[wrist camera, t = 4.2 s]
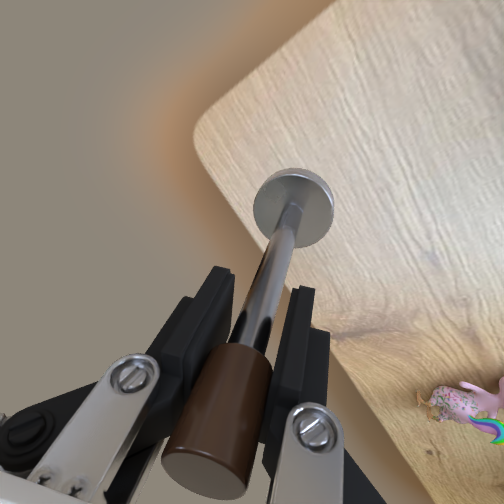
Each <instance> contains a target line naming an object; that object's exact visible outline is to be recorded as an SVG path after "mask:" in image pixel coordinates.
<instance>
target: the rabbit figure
mask: <svg viewBox="0 0 504 504" xmlns="http://www.w3.org/2000/svg"><path fill="white" fill-rule="evenodd" d="M459 385H460V386H461V387H463V388H467V389H471V390H473V391H472V392H464V391H461V390H458V389H454V388H451V387H448V386H439V387H436V388H435V389H434V390H433V393H432V396H431V398H430V400H429V401H428V402H426V401H423V400H422V398H421V394H420V391H419V390H418V391H416V392H417V402H418V403H419V405H418V406H417V407H419V406H420V403H423V404H425V405H427V406H428V407H429V408H428V407H427V406H426V407H427V417H428V418H429V420H428V422H430V419H431V418H432V419H434V420H436V421H438V422H439V423H441V422H443V421H444V420H454V421H455V422H458V423H461V424H465V423H470V424H472V425H473V426H474V427H476V428H477V429H479V430H481V431H483V432H486V433H490V434H494V435H496V436H497V437H496V438H495V439H494V440H493V441H492V442H490V443H493V444H496V445H504V423H503V422H501V421H499V420H497V419H495V418H496V415H497V412H498V409H499V408H503V409H504V376H503V377H502V378H501V379H500V380H499V389H500V392H499V393H498V394H490V393H488V392H487V391H485V390H483V389H481V388H479V387H477V386H475V385H472V384H470V383H467V382H464V381H460V382H459ZM418 392H419V394H418ZM433 405H436V406H440V411H439V415H438V416H437V417H435V416H433V415H432V413H431V409H430V407H431V406H433ZM480 411H487V412H488V416H487V418H483V419H475V416H476V415H477V413H479V412H480Z"/></svg>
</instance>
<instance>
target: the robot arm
mask: <svg viewBox="0 0 504 504" xmlns="http://www.w3.org/2000/svg"><path fill="white" fill-rule="evenodd" d="M234 282H235V275H234V274H231V273H230V269H227V268H223V267H219V266H214V267H213V269H212V270H211V272H210V273H209V275H208V276H207V278H206V280H205V282H204V283H203V285H202V286H201V288H200V289H199V291H198V293H197V294H196V296H195V297H194V298H190V297H187V296H185V297H183V298H182V299H181V301H180V302H179V304H178V305H177V307H176V308H175V310H174V311H173V313H172V314H171V316H170V317H169V319H168V320H167V321H166V323H165V324H164V326H163V328H162V329H161V330H160V332H159V333H158V335H157V337H156V338H155V339H154V341H153V343H152V344H151V345H150V347H149V348H148V350H147V351H146V353H145V354H141V353H136V354H129V355H126V356H123V357H121V358H120V359H118V360H116V361H115V362H114V363H113V364H112V365H111V366H110V367H109V368H108V369H107V371H106V372H105V373H104V375H103V376H102V377H101V379H100V380H99V381H97V382H95V383H92V384H89V385H86V386H84V387H81V388H79V389H76V390H73V391H70V392H67V393H65V394H62V395H59V396H57V397H54V398H51V399H49V400H46V401H43V402H41V403H38V404H35V405H32V406H30V407H27V408H25V409H23V410H21V411H19V412H17V413H16V414H14V415H13V416H10V417H6V416H5V414H4V413H3V414H0V504H136V502H137V500H138V497H139V495H140V492H141V491H142V489H143V486H144V484H145V482H146V480H147V478H148V475H149V473H150V471H151V469H152V467H153V464H154V462H155V460H156V458H157V456H158V454H159V451H160V449H161V446H162V445H163V442H164V439H165V438H167V437H169V436H170V435H171V433H172V431H173V429H174V427H175V425H176V422H177V420H178V418H179V416H180V414H181V412H182V409H183V407H184V405H185V403H186V401H187V399H188V396H189V394H190V392H191V390H192V388H193V386H194V383H195V381H196V379H197V377H198V375H199V373H200V370H201V368H202V366H203V364H204V362H205V360H206V357H207V355H208V353H209V352H210V350H211V349H213V348H214V347H215V346H217V345H219V344H222V343H226V341H227V339H228V336H229V333H230V327H231V317H232V304H233V293H234ZM314 295H315V289H314V288H310V287H305V286H301V285H300V286H299V289H295V288H293V289H292V293H291V297H290V302H289V306H288V310H287V314H286V319H285V323H284V327H283V332H282V336H281V341H280V345H279V349H278V354H277V358H276V362H275V366H274V371H273V375H272V379H271V384H270V389H269V393H268V398H267V403H266V408H265V412H264V420H263V425H262V429H261V433H260V438H259V442H260V443H263V444H265V448H264V452H263V459H262V464H263V466H264V467H265V469H266V471H267V473H268V475H269V476H270V481H269V487H268V492H267V497H266V502H265V504H386V502H385V501H384V500H383V498H382V497H381V495H380V494H379V493H378V491H377V490H376V489H375V488H374V486H373V485H372V484H371V483H370V481H369V480H368V478H367V477H366V476H365V474H364V473H363V472H362V470H361V469H360V468H359V466H358V465H357V464H356V463H355V461H354V460H353V459H352V457H351V456H350V455H349V453H348V452H347V451H346V450H345V448H344V433H343V428H342V426H341V424H340V421H339V420H338V418H337V417H336V416H335V414H334V413H333V412H332V411H330V410H329V409H328V408H327V407H326V401H327V384H328V367H329V350H330V332H327V331H323V330H319V329H315V328H311V327H310V325H311V318H312V310H313V303H314Z"/></svg>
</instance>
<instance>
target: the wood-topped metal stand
mask: <svg viewBox="0 0 504 504" xmlns="http://www.w3.org/2000/svg"><path fill="white" fill-rule="evenodd" d="M253 213H254V218H255V221H256V224H257V226H258V228H259V229H260V231H261V232H262V233H263V234H264V236H265V237H267V238H268V239H269V240H270V241H269V243H268V246H267V248H266V251H265V253H264V255H263V258H262V260H261V263H260V265H259V268H258V270H257V273H256V275H255V278H254V280H253V282H252V285H251V287H250V290H249V292H248V294H247V297H246V299H245V302H244V304H243V307H242V309H241V311H240V314H239V316H238V319H237V321H236V324H235V326H234V329H233V331H232V333H231V336H230V338H229V341H228V343H222V344H219V345H217V346H215V347H214V348H213V349H211V350H210V352H209V353H208V355H207V357H206V360H205V362H204V364H203V366H202V368H201V370H200V373H199V375H198V377H197V379H196V381H195V383H194V386H193V388H192V390H191V392H190V394H189V396H188V399H187V401H186V403H185V405H184V407H183V409H182V412H181V414H180V416H179V418H178V420H177V422H176V425H175V427H174V429H173V431H172V433H171V435H170V438H169V440H168V442H167V444H166V446H165V448H164V451H163V453H162V456H161V464H162V466H163V468H164V470H165V471H166V473H167V474H168V475H169V476H170V477H171V478H172V479H173V480H174V481H176V482H177V483H178V484H180V485H181V486H183V487H185V488H187V489H188V490H190V491H192V492H194V493H197V494H199V495H202V496H205V497H209V498H213V499H218V500H235V499H238V498H241V497H242V496H244V494H245V493H246V491H247V489H248V486H249V482H250V477H251V473H252V469H253V464H254V460H255V455H256V451H257V446H258V442H259V438H260V433H261V429H262V425H263V420H264V412H265V408H266V403H267V398H268V393H269V389H270V384H271V379H272V375H273V370H272V366H271V364H270V363H269V361H268V360H267V358H266V357H265V352H266V348H267V344H268V341H269V337H270V333H271V329H272V326H273V322H274V319H275V315H276V311H277V308H278V304H279V300H280V297H281V293H282V289H283V286H284V282H285V278H286V275H287V271H288V267H289V264H290V260H291V256H292V252H293V249H294V248H302V247H307V246H310V245H312V244H314V243H316V242H318V241H319V240H320V239H322V238H323V237H324V236H325V235H326V233H327V232H328V230H329V229H330V227H331V224H332V221H333V216H334V198H333V194H332V192H331V189H330V188H329V186H328V185H327V183H326V182H325V181H324V180H323V179H322V178H321V177H320V176H318V175H317V174H315V173H313V172H311V171H309V170H305V169H301V168H288V169H284V170H280V171H278V172H276V173H274V174H273V175H271V176H270V177H269V178H268V179H267V180H266V181H265V182H264V183H263V185H262V186H261V188H260V190H259V191H258V193H257V195H256V197H255V200H254V205H253Z"/></svg>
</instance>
